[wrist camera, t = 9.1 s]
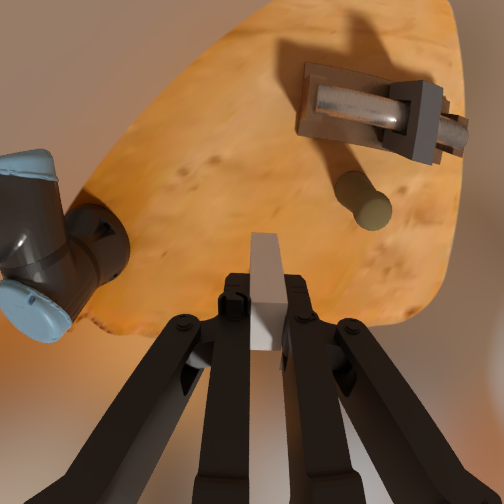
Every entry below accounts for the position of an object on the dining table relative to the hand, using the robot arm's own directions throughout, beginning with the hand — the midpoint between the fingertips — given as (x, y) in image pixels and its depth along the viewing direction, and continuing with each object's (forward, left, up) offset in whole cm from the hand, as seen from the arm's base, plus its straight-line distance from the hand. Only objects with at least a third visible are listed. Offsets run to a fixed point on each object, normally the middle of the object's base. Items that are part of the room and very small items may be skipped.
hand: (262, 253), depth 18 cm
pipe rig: (+16, +10, -28) cm, 34 cm away
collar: (+18, +10, -26) cm, 34 cm away
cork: (+14, -2, -28) cm, 31 cm away
